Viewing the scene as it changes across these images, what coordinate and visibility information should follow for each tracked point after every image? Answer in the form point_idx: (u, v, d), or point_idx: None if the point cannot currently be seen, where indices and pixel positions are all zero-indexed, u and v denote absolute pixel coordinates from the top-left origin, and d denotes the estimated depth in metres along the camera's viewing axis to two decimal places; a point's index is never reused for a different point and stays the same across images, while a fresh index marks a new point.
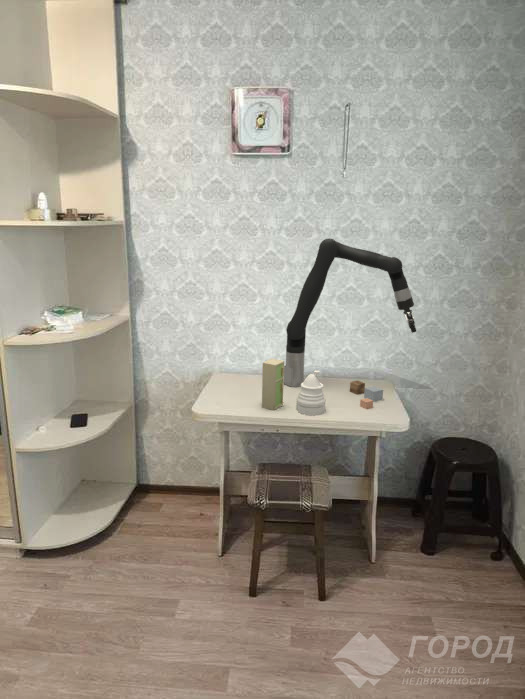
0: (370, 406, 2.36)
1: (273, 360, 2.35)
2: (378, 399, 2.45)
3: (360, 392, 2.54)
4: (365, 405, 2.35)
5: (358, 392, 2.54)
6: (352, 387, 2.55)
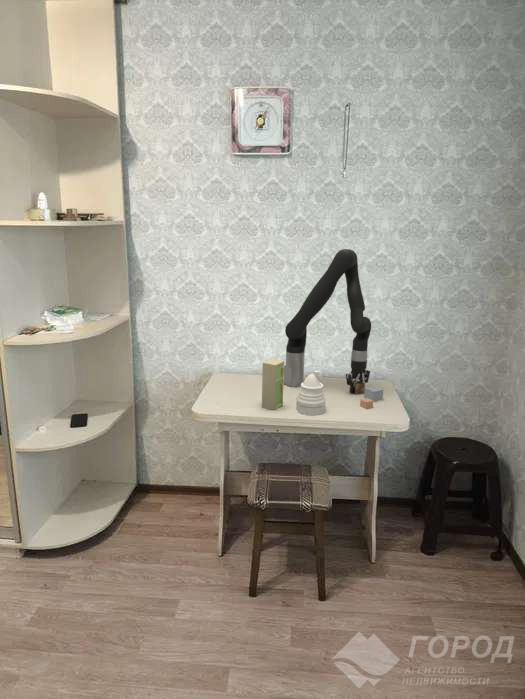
0: (370, 406, 2.36)
1: (273, 360, 2.35)
2: (378, 399, 2.45)
3: (360, 392, 2.54)
4: (365, 405, 2.35)
5: (358, 392, 2.54)
6: None
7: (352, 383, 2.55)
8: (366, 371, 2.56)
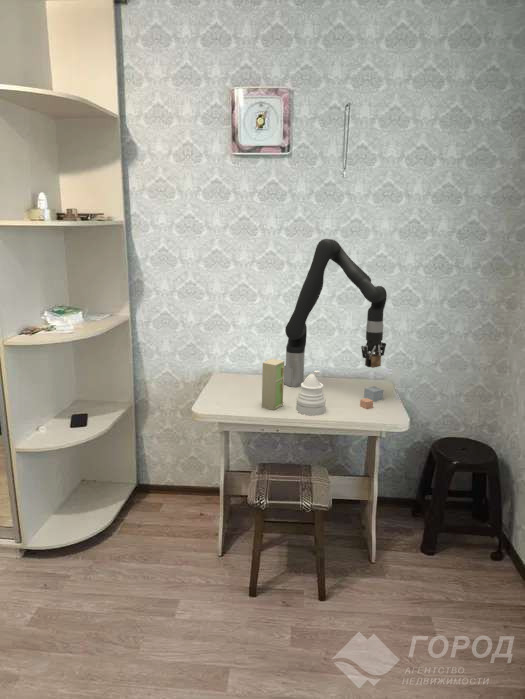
0: (370, 406, 2.36)
1: (273, 360, 2.35)
2: (378, 399, 2.45)
3: (376, 365, 2.44)
4: (365, 405, 2.35)
5: (374, 365, 2.43)
6: None
7: None
8: (382, 343, 2.46)
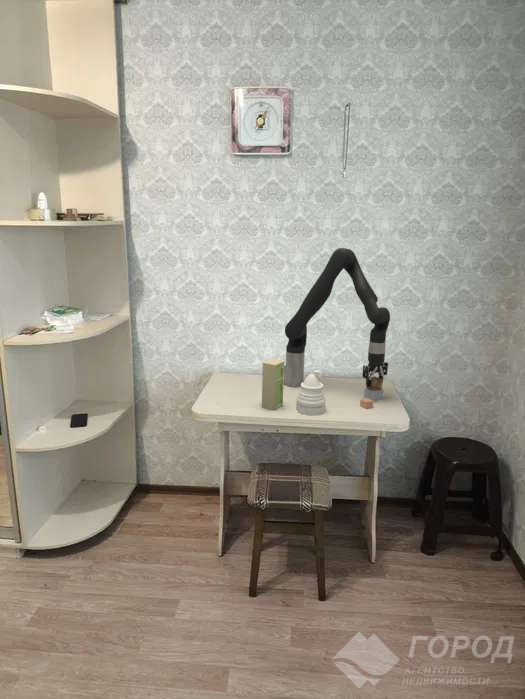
0: (370, 406, 2.36)
1: (273, 360, 2.35)
2: (378, 399, 2.45)
3: (377, 388, 2.44)
4: (365, 405, 2.35)
5: (375, 388, 2.44)
6: None
7: None
8: (384, 363, 2.46)
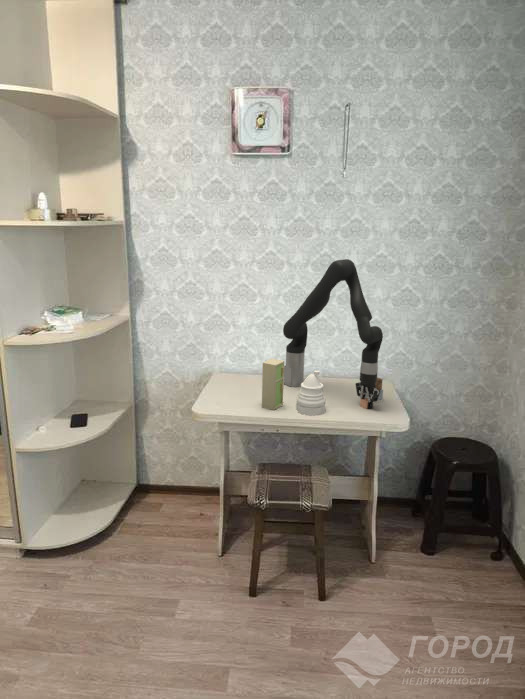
0: None
1: (273, 360, 2.35)
2: (378, 399, 2.45)
3: (377, 388, 2.44)
4: (365, 405, 2.35)
5: None
6: None
7: None
8: None
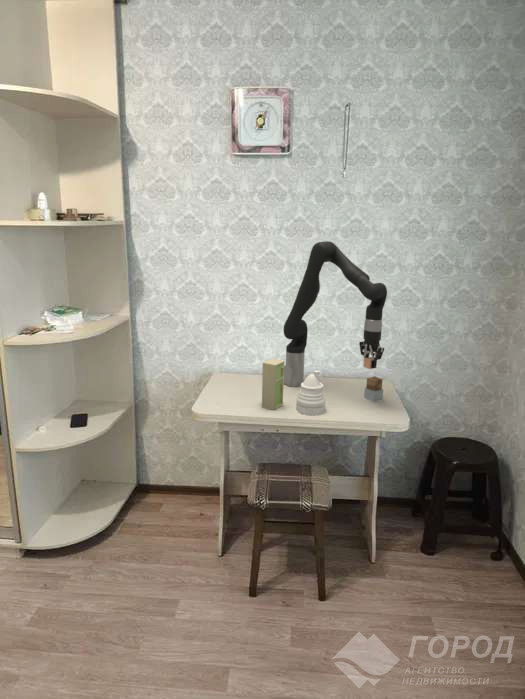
0: None
1: (273, 360, 2.35)
2: (378, 399, 2.45)
3: (377, 388, 2.44)
4: (369, 363, 2.32)
5: (375, 388, 2.44)
6: (369, 383, 2.45)
7: None
8: None
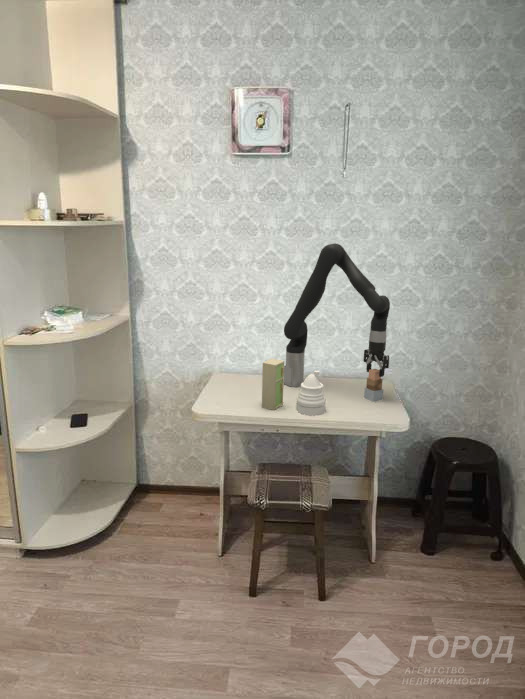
0: (378, 376, 2.44)
1: (273, 360, 2.35)
2: (378, 399, 2.45)
3: (377, 388, 2.44)
4: (373, 375, 2.43)
5: (375, 388, 2.44)
6: (369, 383, 2.45)
7: (380, 366, 2.40)
8: None
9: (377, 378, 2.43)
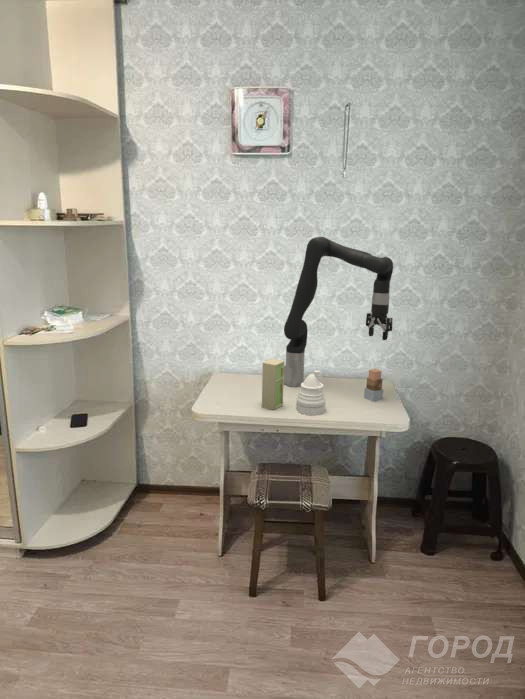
0: (378, 376, 2.44)
1: (273, 360, 2.35)
2: (378, 399, 2.45)
3: (377, 388, 2.44)
4: (373, 375, 2.43)
5: (375, 388, 2.44)
6: (369, 383, 2.45)
7: None
8: None
9: (377, 378, 2.43)
